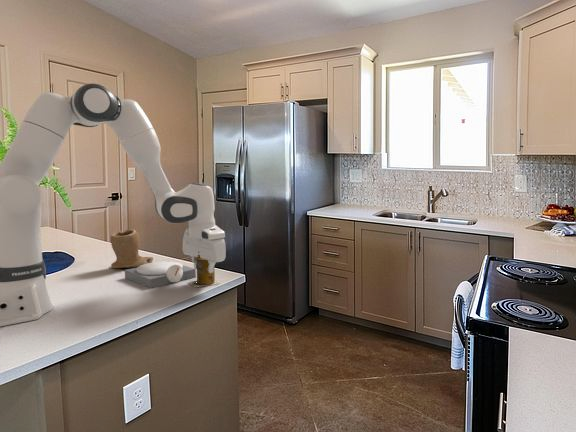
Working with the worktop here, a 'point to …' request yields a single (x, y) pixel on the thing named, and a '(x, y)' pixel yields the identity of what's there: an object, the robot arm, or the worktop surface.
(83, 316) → the worktop surface
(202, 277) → the condiment
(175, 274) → the scale
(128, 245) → the stone cup
